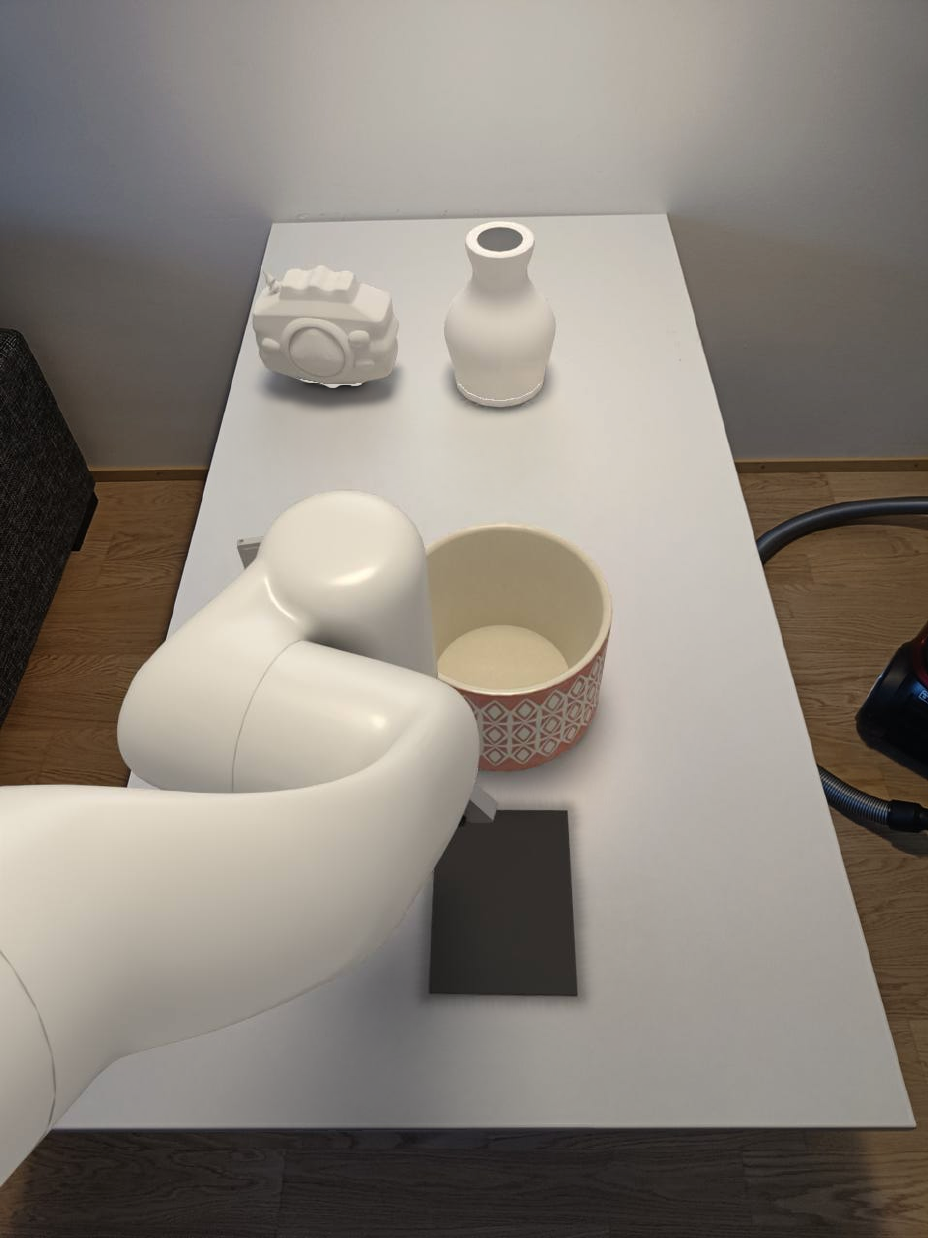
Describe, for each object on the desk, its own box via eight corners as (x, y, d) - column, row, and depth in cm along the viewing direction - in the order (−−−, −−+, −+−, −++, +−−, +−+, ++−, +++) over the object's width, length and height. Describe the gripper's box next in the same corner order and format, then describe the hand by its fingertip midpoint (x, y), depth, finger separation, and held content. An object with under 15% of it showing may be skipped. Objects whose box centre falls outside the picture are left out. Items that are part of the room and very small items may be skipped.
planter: (607, 776, 83) (625, 691, 71) (403, 782, 83) (388, 698, 71) (587, 614, 94) (600, 518, 83) (408, 619, 95) (395, 524, 83)
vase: (556, 411, 114) (565, 269, 98) (446, 414, 115) (437, 273, 99) (549, 344, 123) (557, 204, 107) (447, 347, 123) (440, 207, 108)
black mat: (577, 995, 71) (577, 994, 71) (429, 993, 72) (428, 992, 71) (567, 811, 81) (567, 810, 81) (436, 810, 81) (436, 809, 81)
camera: (282, 352, 124) (257, 246, 111) (408, 360, 122) (397, 253, 109) (260, 403, 117) (231, 296, 105) (392, 413, 115) (379, 304, 103)
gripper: (197, 713, 47) (269, 849, 61) (502, 792, 43) (501, 916, 58) (256, 606, 51) (310, 756, 66) (538, 670, 48) (529, 814, 62)
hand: (400, 830), depth 62 cm, fingers closed on bar, 4 cm apart
